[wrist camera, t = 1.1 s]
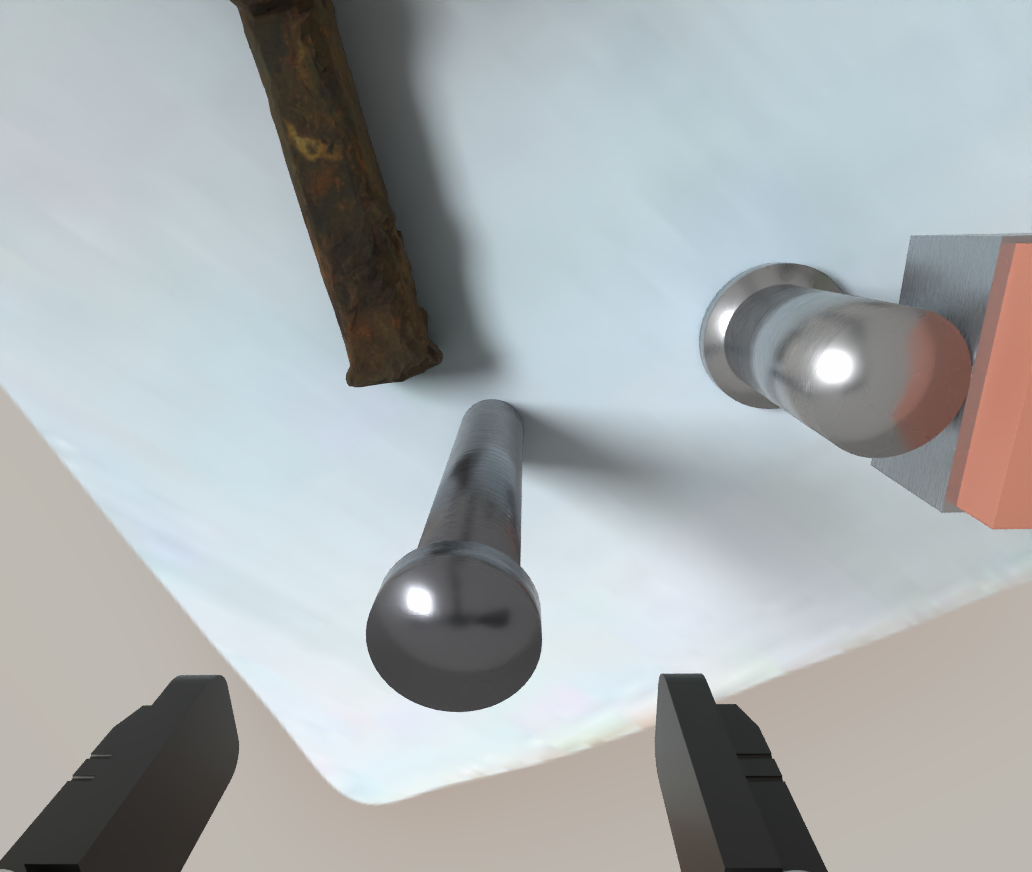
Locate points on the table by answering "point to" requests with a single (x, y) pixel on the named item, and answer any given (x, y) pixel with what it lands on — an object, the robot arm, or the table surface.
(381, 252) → the hand tool
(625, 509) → the table surface
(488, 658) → the steel pin
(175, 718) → the robot arm
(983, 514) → the bracket
